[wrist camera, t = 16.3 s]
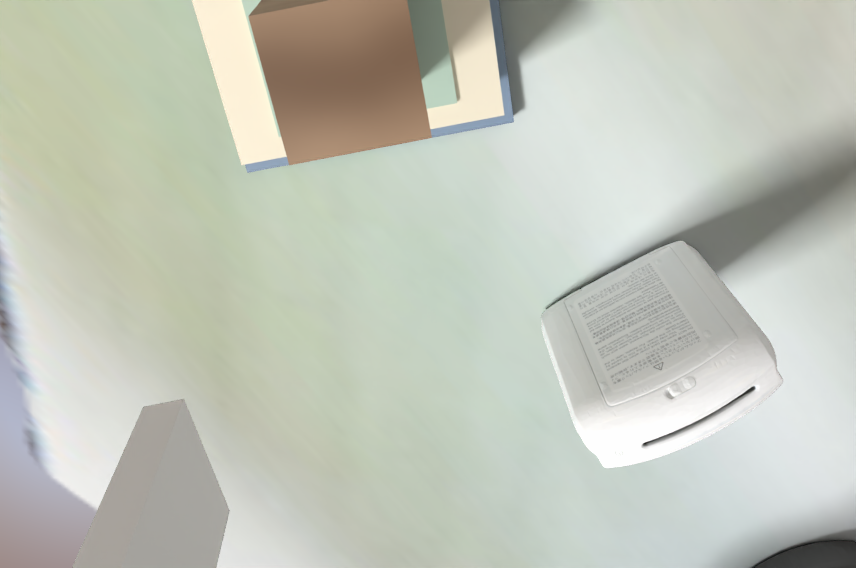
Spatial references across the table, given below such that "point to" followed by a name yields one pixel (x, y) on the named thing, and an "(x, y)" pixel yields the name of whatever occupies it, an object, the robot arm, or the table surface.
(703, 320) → the photo printer
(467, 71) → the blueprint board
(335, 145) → the walnut block
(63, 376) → the table surface
